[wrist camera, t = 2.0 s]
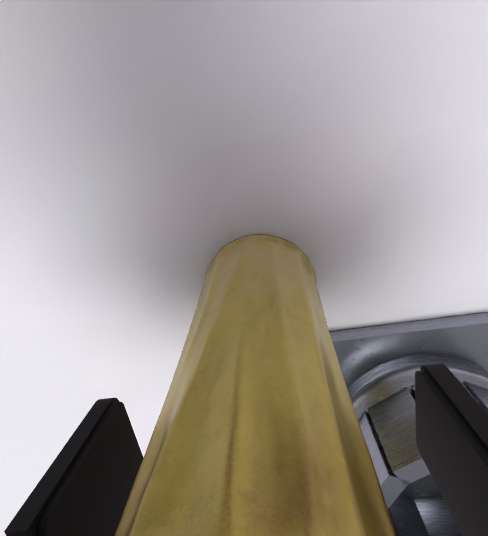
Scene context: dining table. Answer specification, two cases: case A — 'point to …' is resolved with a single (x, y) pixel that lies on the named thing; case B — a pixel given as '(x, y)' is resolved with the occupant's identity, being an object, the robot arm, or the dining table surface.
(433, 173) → the dining table surface
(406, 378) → the cup bracket
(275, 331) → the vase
